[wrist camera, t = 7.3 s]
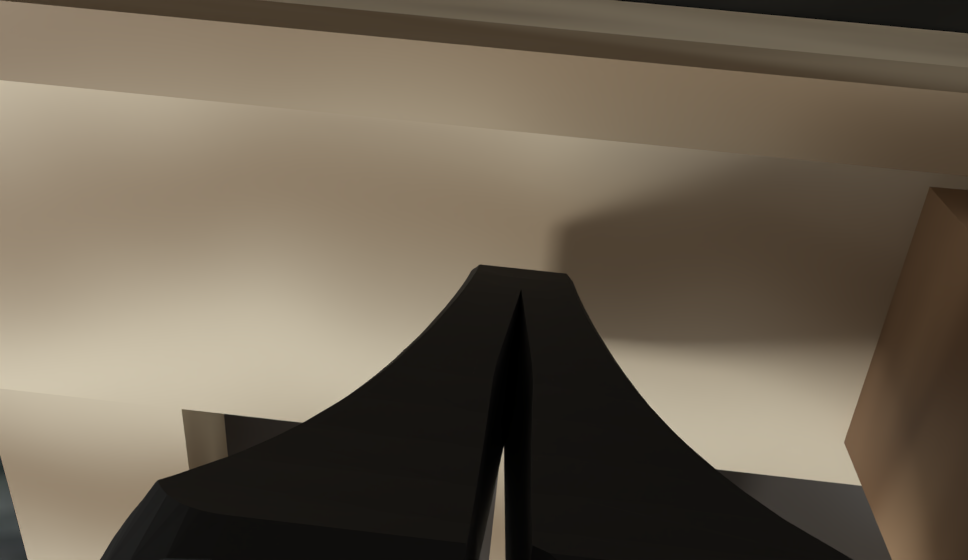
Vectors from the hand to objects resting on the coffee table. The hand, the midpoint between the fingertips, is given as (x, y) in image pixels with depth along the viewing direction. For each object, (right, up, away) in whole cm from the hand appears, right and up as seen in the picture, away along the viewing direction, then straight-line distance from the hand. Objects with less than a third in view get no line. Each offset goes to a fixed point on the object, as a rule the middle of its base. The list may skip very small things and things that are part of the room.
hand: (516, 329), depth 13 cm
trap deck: (+1, -1, +4) cm, 4 cm away
